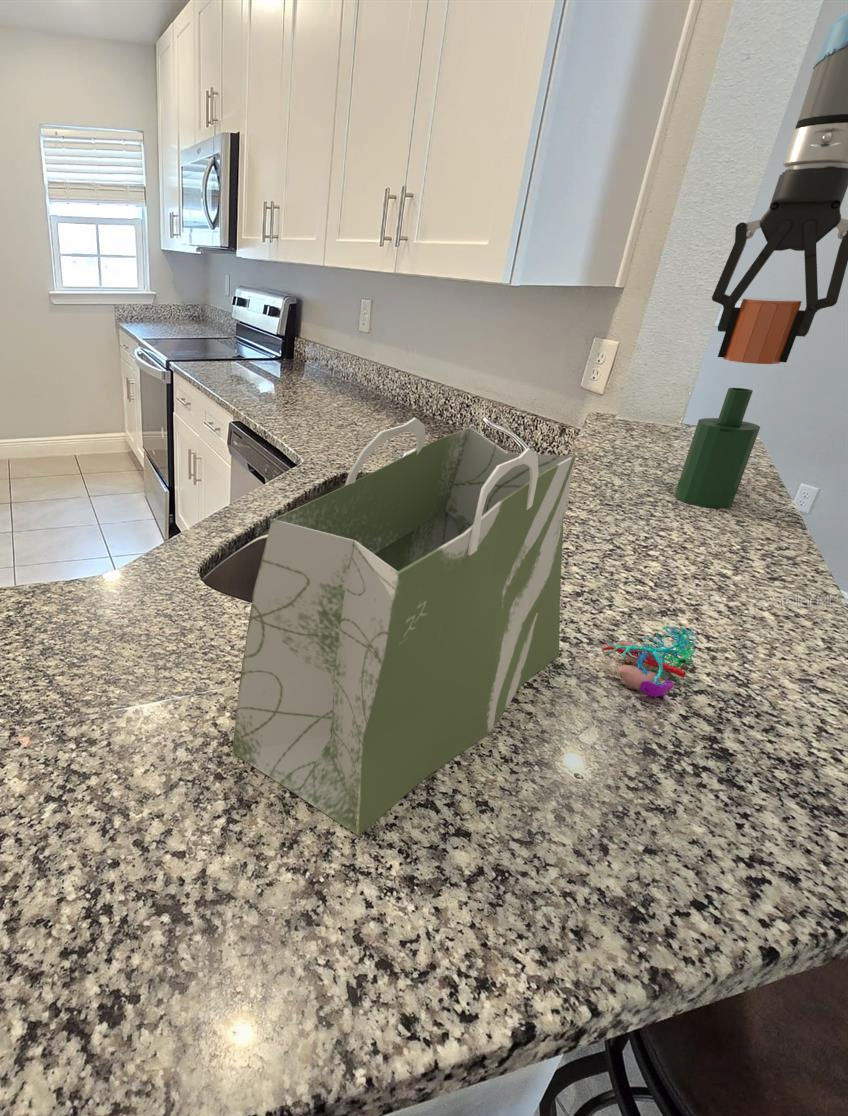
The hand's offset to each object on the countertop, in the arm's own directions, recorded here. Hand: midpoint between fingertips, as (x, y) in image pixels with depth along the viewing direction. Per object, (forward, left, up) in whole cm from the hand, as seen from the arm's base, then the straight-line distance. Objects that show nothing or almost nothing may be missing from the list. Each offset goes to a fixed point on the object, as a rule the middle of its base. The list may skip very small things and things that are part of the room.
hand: (751, 358), depth 95 cm
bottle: (0, -1, -21) cm, 21 cm away
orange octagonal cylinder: (0, 0, 0) cm, 0 cm away
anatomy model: (-1, +61, -22) cm, 65 cm away
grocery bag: (+14, +77, -22) cm, 82 cm away
